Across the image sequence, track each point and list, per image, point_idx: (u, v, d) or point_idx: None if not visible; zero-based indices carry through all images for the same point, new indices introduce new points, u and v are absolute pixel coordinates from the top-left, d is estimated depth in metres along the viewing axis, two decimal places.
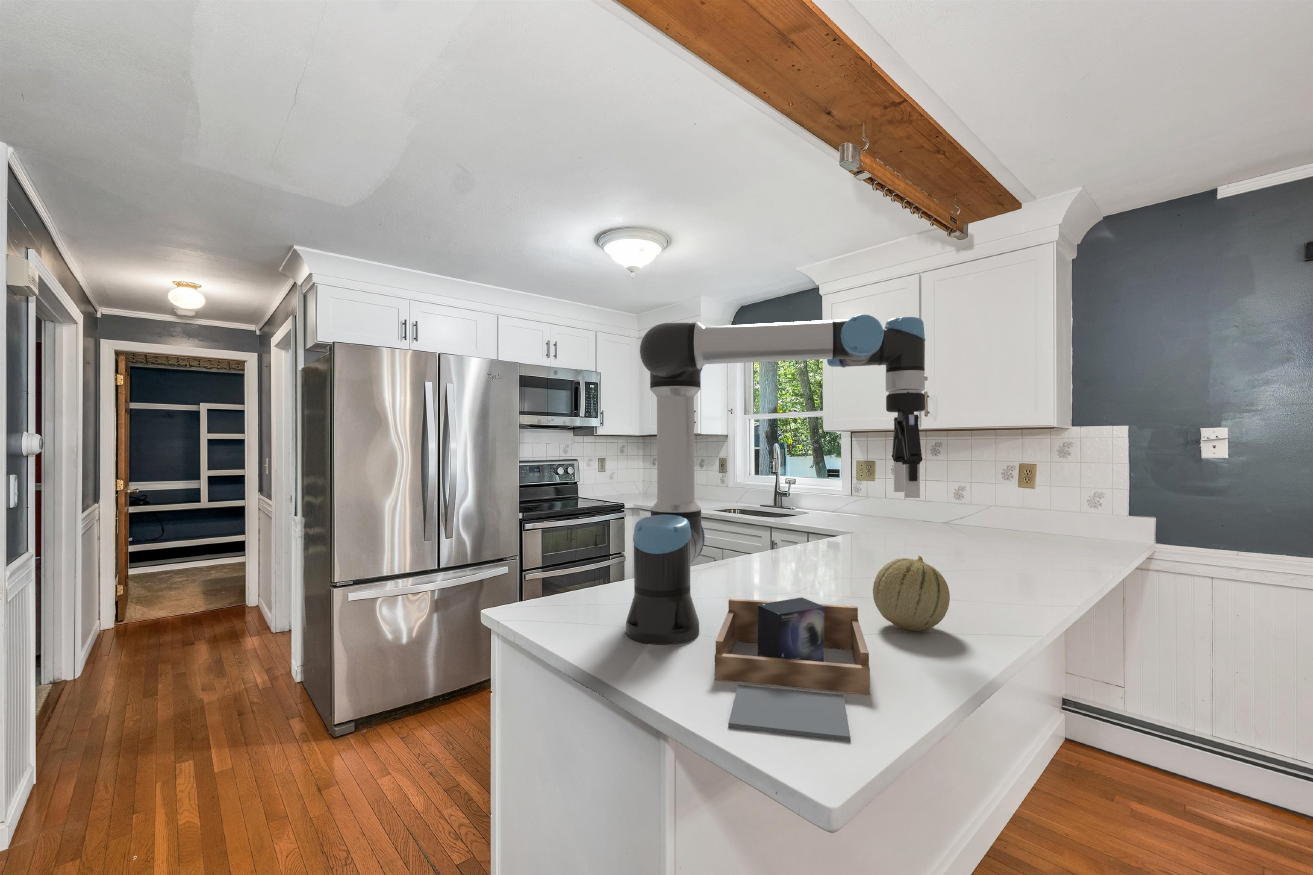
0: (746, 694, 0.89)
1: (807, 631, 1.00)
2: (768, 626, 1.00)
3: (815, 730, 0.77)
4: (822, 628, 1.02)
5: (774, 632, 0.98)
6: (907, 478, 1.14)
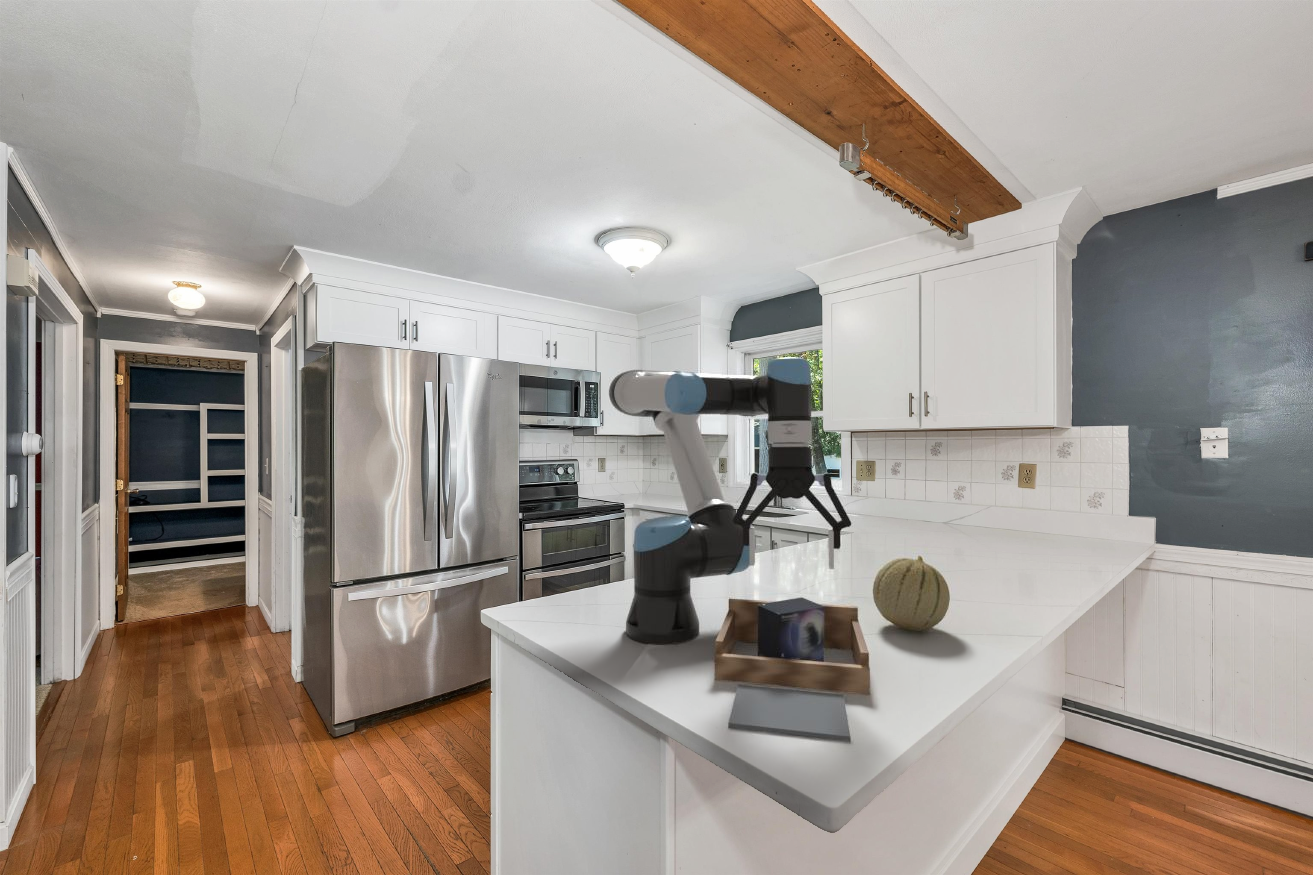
0: (746, 694, 0.89)
1: (808, 631, 1.00)
2: (768, 626, 1.00)
3: (815, 730, 0.77)
4: (822, 628, 1.02)
5: (774, 632, 0.98)
6: None
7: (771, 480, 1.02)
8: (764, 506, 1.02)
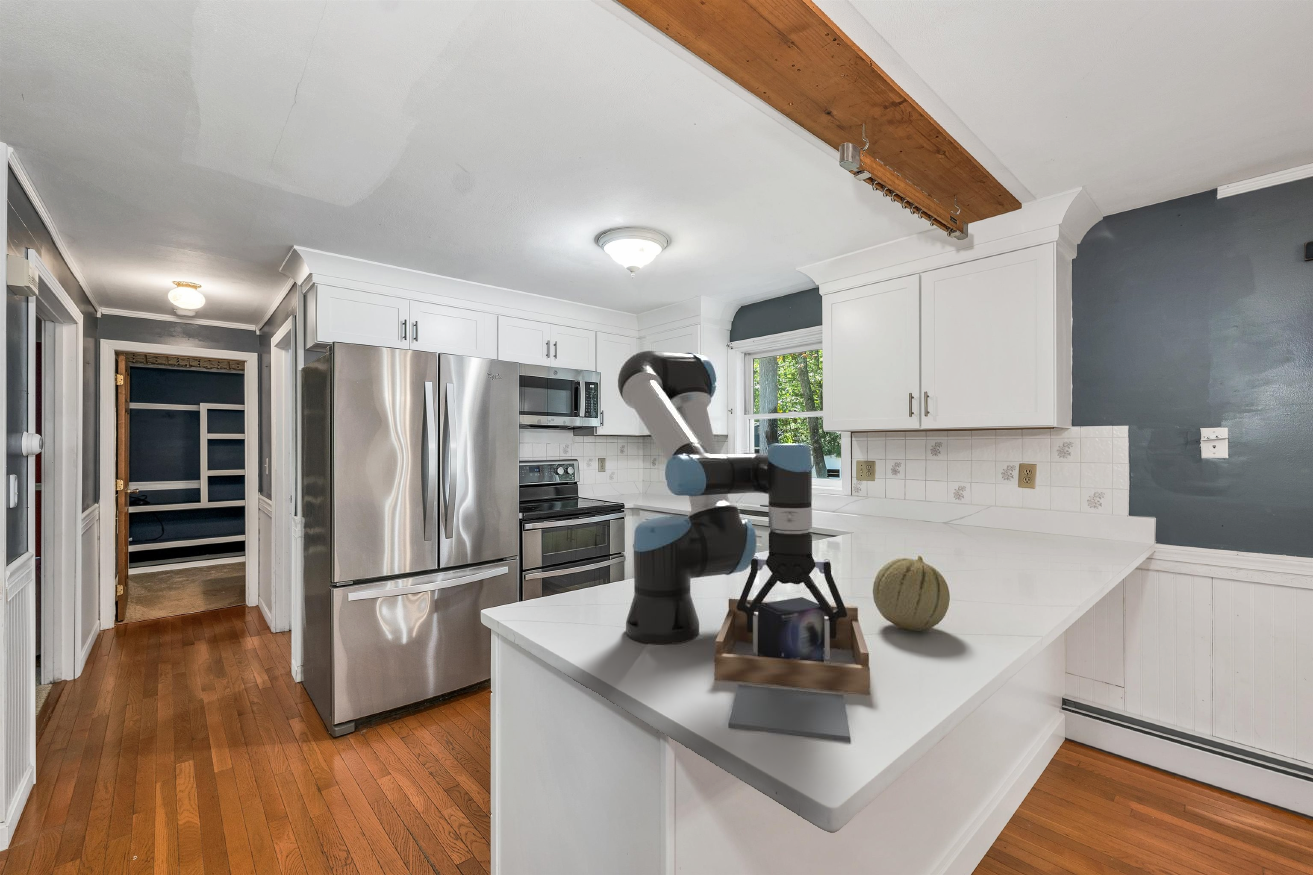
0: (746, 694, 0.89)
1: (807, 630, 1.00)
2: (768, 626, 1.00)
3: (815, 730, 0.77)
4: (822, 628, 1.02)
5: (774, 632, 0.98)
6: None
7: (771, 565, 1.02)
8: (766, 592, 1.02)
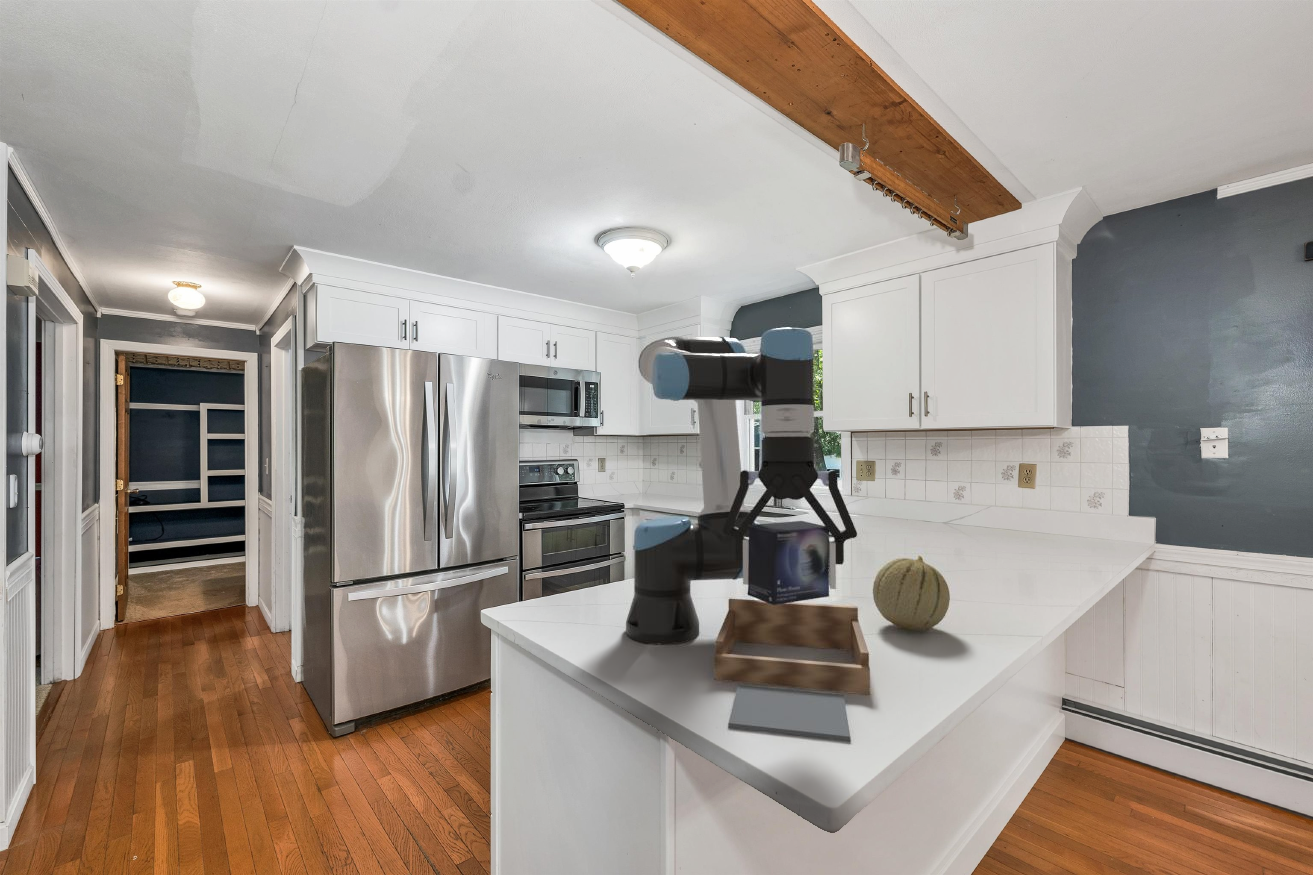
0: (746, 694, 0.89)
1: (809, 554, 0.82)
2: (761, 549, 0.82)
3: (815, 730, 0.77)
4: (826, 553, 0.84)
5: (768, 555, 0.80)
6: None
7: (765, 477, 0.84)
8: (759, 510, 0.84)
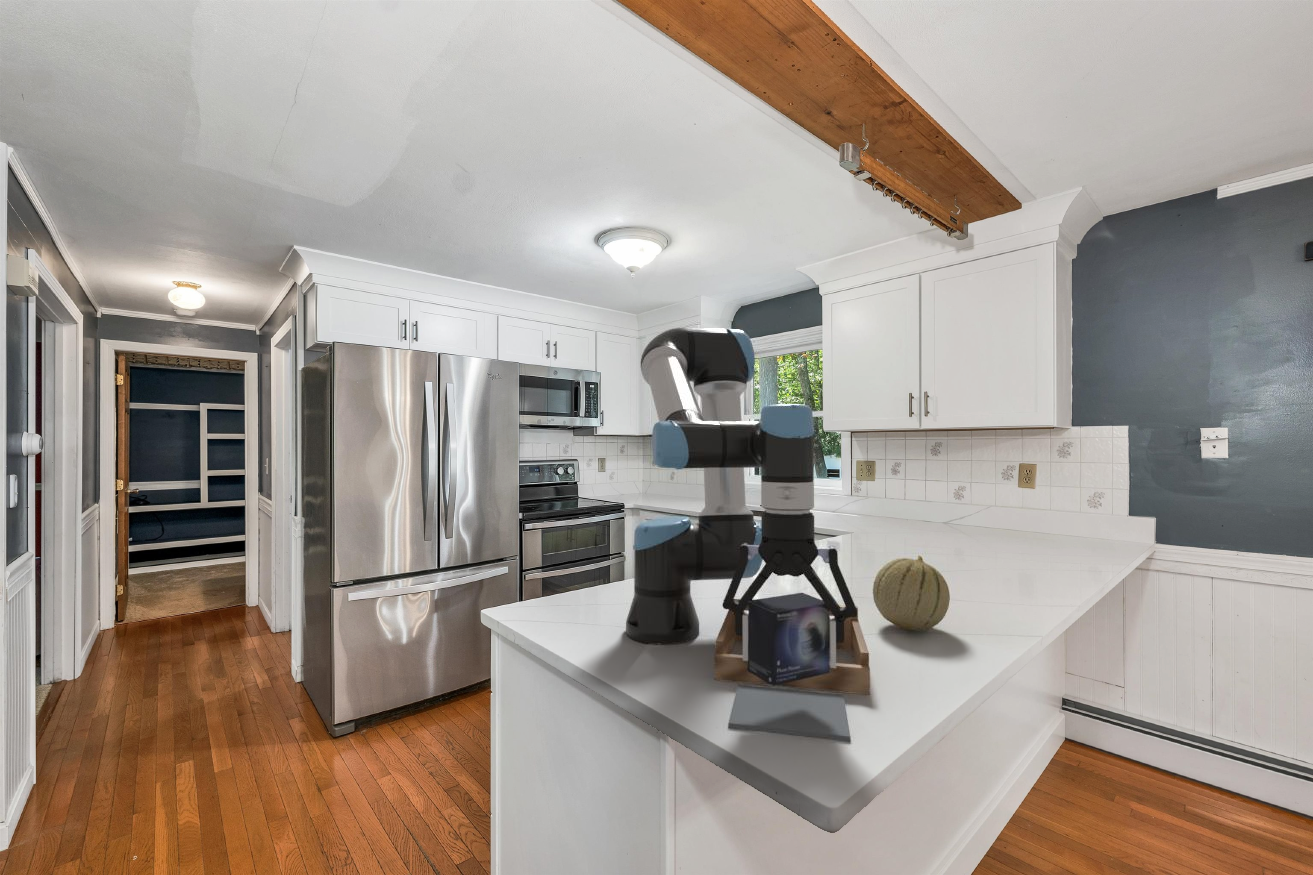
0: (746, 694, 0.89)
1: (809, 633, 0.82)
2: (761, 627, 0.81)
3: (815, 730, 0.77)
4: (827, 630, 0.83)
5: (768, 635, 0.80)
6: None
7: (765, 553, 0.84)
8: (759, 586, 0.84)
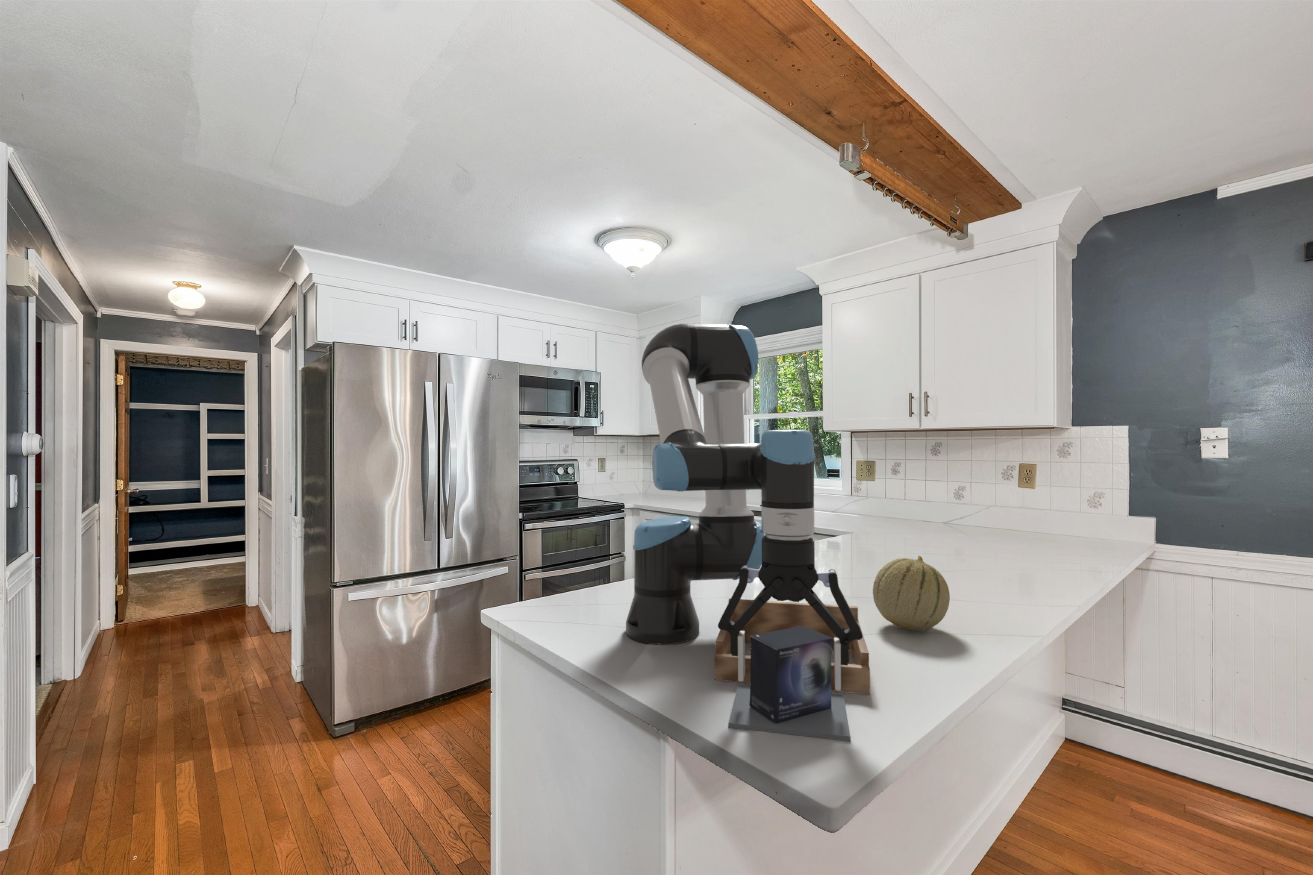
0: (746, 694, 0.89)
1: (811, 669, 0.82)
2: (763, 663, 0.81)
3: (815, 730, 0.77)
4: (829, 665, 0.83)
5: (771, 672, 0.80)
6: None
7: (765, 578, 0.84)
8: (756, 609, 0.84)
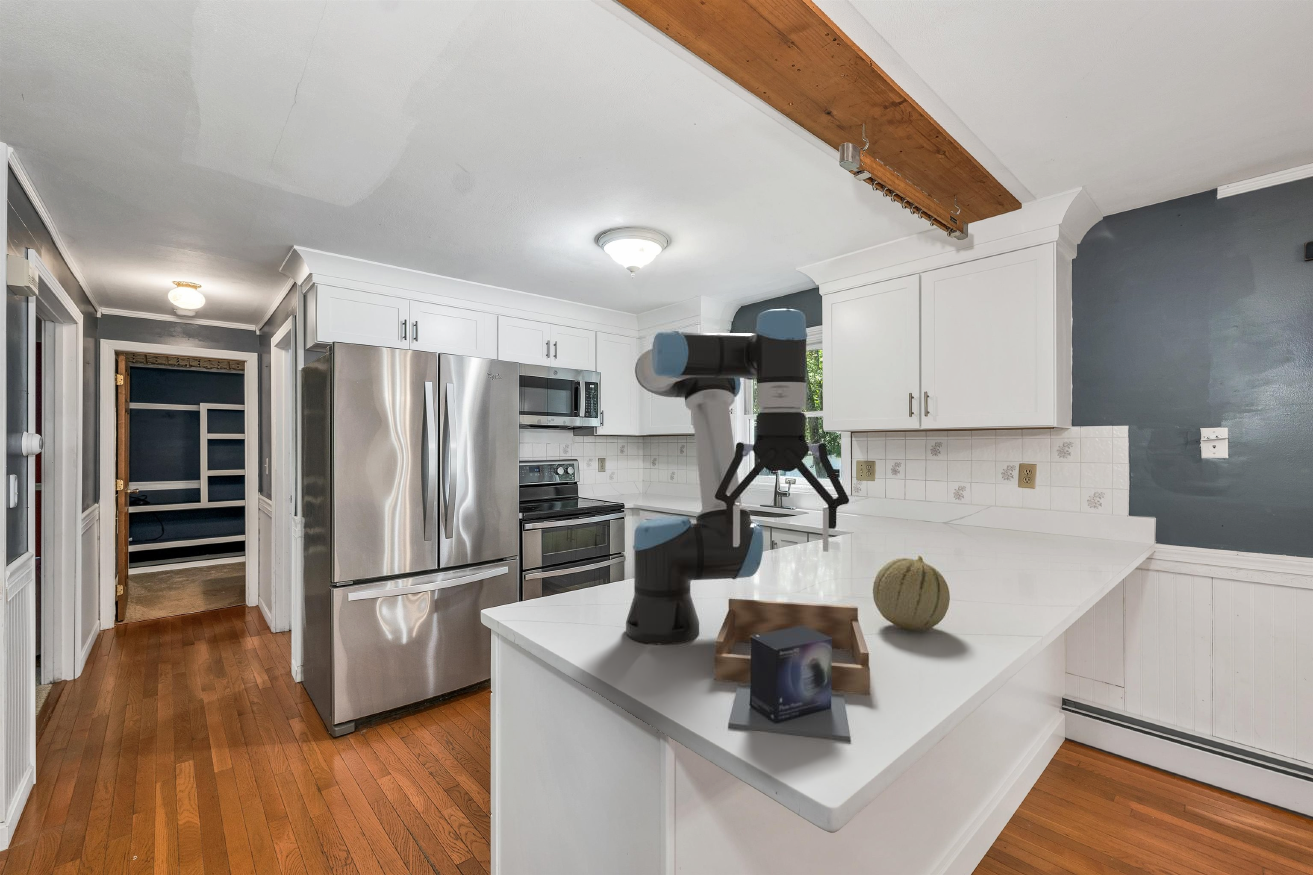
0: (746, 694, 0.89)
1: (811, 669, 0.82)
2: (763, 663, 0.81)
3: (815, 730, 0.77)
4: (829, 665, 0.83)
5: (771, 672, 0.80)
6: None
7: (759, 450, 0.90)
8: (750, 480, 0.90)
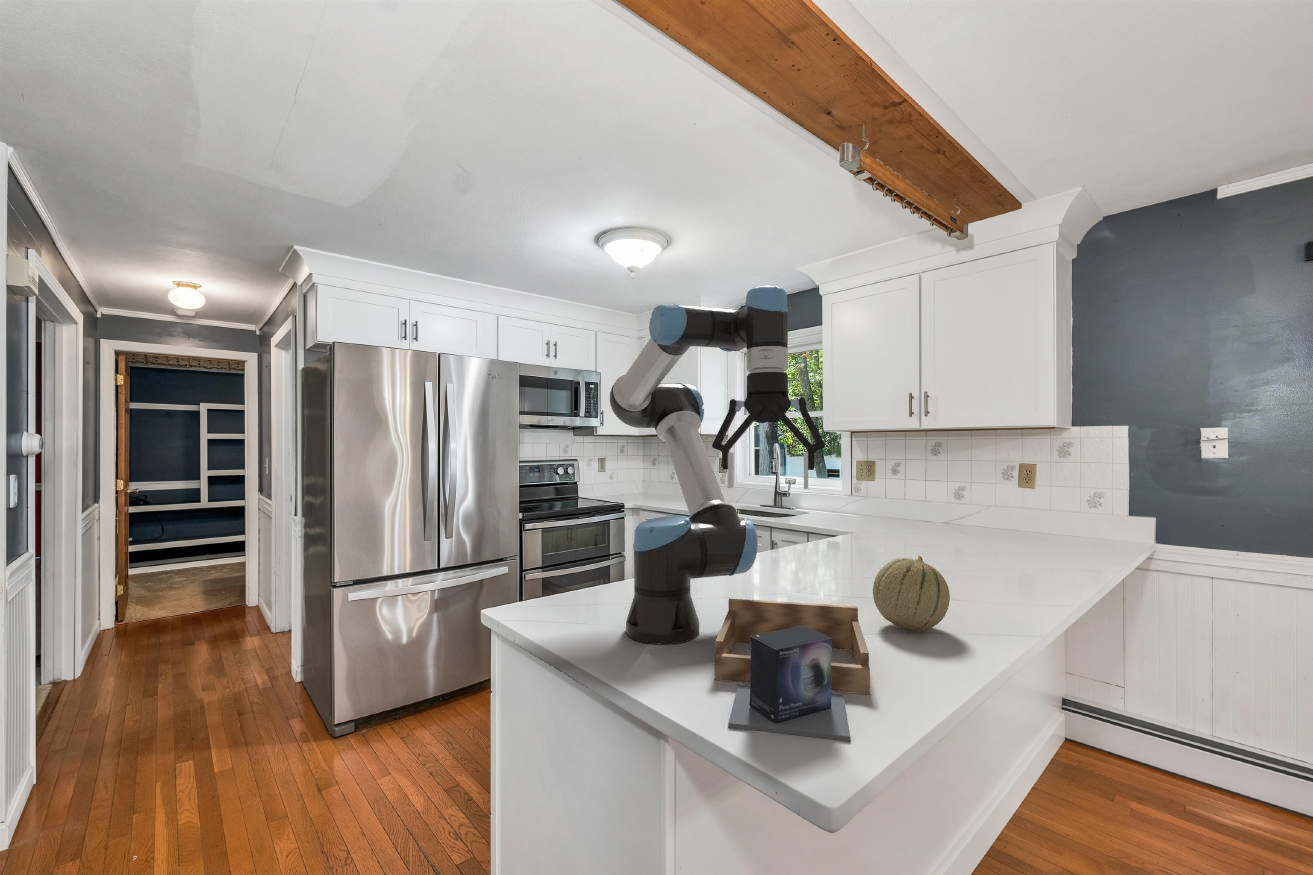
0: (746, 694, 0.89)
1: (811, 669, 0.82)
2: (763, 663, 0.81)
3: (815, 730, 0.77)
4: (829, 665, 0.83)
5: (771, 672, 0.80)
6: None
7: (749, 405, 1.06)
8: (742, 430, 1.07)
